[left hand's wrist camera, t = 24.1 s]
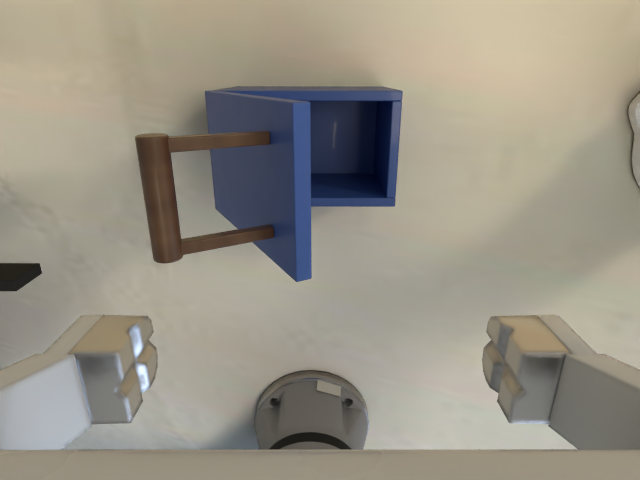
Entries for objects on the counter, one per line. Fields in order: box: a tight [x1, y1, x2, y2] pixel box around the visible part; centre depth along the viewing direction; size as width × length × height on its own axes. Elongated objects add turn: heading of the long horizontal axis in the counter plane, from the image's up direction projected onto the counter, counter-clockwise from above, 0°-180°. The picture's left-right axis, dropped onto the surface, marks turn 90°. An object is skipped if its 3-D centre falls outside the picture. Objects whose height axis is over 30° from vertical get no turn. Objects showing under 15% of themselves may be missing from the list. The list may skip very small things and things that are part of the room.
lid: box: [135, 91, 311, 282], centre depth 27 cm, size 16×10×8 cm
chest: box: [214, 87, 402, 206], centre depth 41 cm, size 15×10×11 cm, turn 90°
